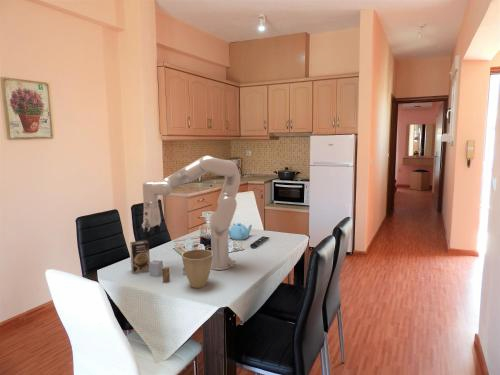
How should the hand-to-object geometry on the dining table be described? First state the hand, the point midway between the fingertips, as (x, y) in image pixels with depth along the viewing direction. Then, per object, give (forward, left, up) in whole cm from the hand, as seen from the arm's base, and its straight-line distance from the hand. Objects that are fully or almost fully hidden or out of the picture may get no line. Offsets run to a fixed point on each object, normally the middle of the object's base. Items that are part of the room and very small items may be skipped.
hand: (152, 236), depth 194 cm
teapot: (-27, -73, -20) cm, 81 cm away
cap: (-3, +3, -20) cm, 20 cm away
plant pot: (-31, +12, -20) cm, 38 cm away
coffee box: (+8, 0, -20) cm, 22 cm away
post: (-13, +11, -20) cm, 26 cm away
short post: (-19, 0, -20) cm, 27 cm away
